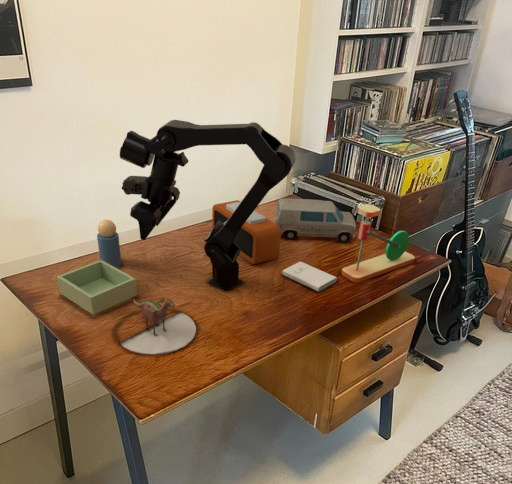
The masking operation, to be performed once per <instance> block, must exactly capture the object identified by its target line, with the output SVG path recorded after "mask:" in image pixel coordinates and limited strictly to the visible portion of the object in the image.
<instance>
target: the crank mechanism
mask: <svg viewBox="0 0 512 484" xmlns="http://www.w3.org/2000/svg"><path fill="white" fill-rule="evenodd" d="M356 212H357V214H358V215H360V216H362V217H364V218H365V219H364V220H361V221H360V223H359V228H358V233H357V239H359V240H360V246H359V251H358V252H359V253H358V257H357V262H356V263H353V264H350V265H348V266H345V267H343V268H342V269H341V274H340V275H341V276H343V277H344V278H346V279H347V280H349V281H351V282H353V283H361V282H364V281H367V280H370V279H372V278H375V277H378V276H381V275H383V274H386V273H389V272H391V271H395V270H397V269H400V268H404V267H405V266H408V265H411V264H414V263H415V259H416V257H415V256H414V255H413V254H411V253H409V252H407V249H408V245H409V241H410V236H409V233H408V232H407V231H405V230H398V231H397V232H396V233H394V234H393V235H392V236H391V238H389V239H388V238H386V237H384V236H381V235H379V234H378V233H375V232H373V231H371V226H372V223H371V221H369V220H368V219H369V218H374V217H378V216H379V215H380V214H381V213H380V212H381V208H380V207H379V206H376V205H374V204H362V205H359V206H357V211H356ZM369 236H371V237H374V238H376V239H377V240H380V241H381V242H384V243H387V245H386V247H385V253H383V254H380V255H378V256H374V257H371V258H369V259H366V260H363V261H361V257H362V251H363V246H364V241H368V240H369Z"/></svg>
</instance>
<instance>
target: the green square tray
mask: <svg viewBox="0 0 512 484" xmlns="http://www.w3.org/2000/svg"><path fill="white" fill-rule="evenodd" d="M56 279H57V285H58V290H59V293H60V294H61V295H62V296H64V297H65V298H67V299H69V300H70V301H71V302H73V303H75V304H76V305H78V306H79V307H81V308H82V309H83V310H85V311H87V312H89V313H90V314H91V315H96V314H98V313H100V312H103V311H105V310H108V309H110V308H111V307H114V306H116V305H118V304H120V303H123V302H125V301H127V300H130V299H131V298H132V299H133V298H134V297H136V296H137V295H138V291H137V281H136V279H137V278H135V277H133V276H131V275H129V274H128V273H126V272H124V271H123V270H121V269H119V268H118V267H113V266H112V265H110V264H108V263H106V262H104V261H102V260H100V259H99V260H97V261H94V262H91V263H89V264H86V265H84V266H81V267H78V268H75V269H72V270H71V271H68V272H65V273H63V274H59V275H57V276H56Z"/></svg>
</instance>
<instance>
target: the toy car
mask: <svg viewBox="0 0 512 484" xmlns="http://www.w3.org/2000/svg"><path fill="white" fill-rule="evenodd" d="M273 223H275V224H277V225H278V226H279V228H280V230H281V236H282V235H283V238H284V239H285V240H288V241H296V240H297V239H298V237H314V238H315V237H316V238H336V241H337V242H338V243H342V244H347V243H349V242H350V241H351V238H352V239H355V237H356V233H355V231H356V227H357V224H356V220H355V218H354V216H353V214H352V213H351V212H350V211H341V210H340V209H339V208H338V207H337V206H336V205H335V203H334V202H333V201H331V200H322V199H306V198H279V199H278V203H277V206H276V209H275V217H274V220H273Z"/></svg>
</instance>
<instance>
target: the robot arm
mask: <svg viewBox="0 0 512 484" xmlns="http://www.w3.org/2000/svg"><path fill="white" fill-rule="evenodd" d="M228 145H229V146H235V145H236V146H237V145H239V146H240V145H247V146H248V147H249V148H250V149H251V151H252V152H253V153H254V155H255V157H256V158H257V159H258V160H259V162H261V164H262V165H263V166H262V169H261V171H260V172H259V175H258V177H257V179H256V181H255V182H254V184H253V185H252V186H251V187H250V189H249V190H248V192H247V193H246V194H245V196H244V197H243V198H242V200H241V201H240V202H241V203H240V204H239V205H238V207H237V208H236V209H235V211H234V212H233V214H232V215H231V216H230V218H229V219H228V220H227V221H226V222H224V223H222V222H221V221H220V220H219V221H218V222H217V224H216V225H215V227H214V228H213V229H212V228H211V230H210V232H209V233H208V234H207V236H206V238H205V239H204V241H203V242H204V243H205V244H204V246H203V250H204V254H205V255H206V257H208V258H209V261H210V263H211V271H212V272H211V277H212V278H211V279H209V280H208V283H209V284H211V285H213V286H215V287H217V288H219V289H220V290H223V291H225V292H228V291H229V290H231V289H233V288H236V287H237V286H239V285H241V284H243V280H241V279H239V278H240V277H239V273H240V272H239V271H240V270H239V269H240V263H239V262H238V260H237V258H238V257H239V256H240V255H239V253H240V251H241V249H240V248H239V247H238V245H237V244H236V243H235V242H234V239H235V237H236V235H237V233H238V231H239V230H240V228H241V227H242V226H243V224H244V223H245V222H246V220H247V219H248V218H249V217H250V215H251V214H252V213H253V211H256V209H257V207H258V206H259V205H260V204H261V202H262V201H263V200H264V198H265V197H266V196H267V194H268V193H269V192H270V191H271V190H272V189H273V188H275V187H276V186H277V185H278V184H280V183H281V182H282V181H283V180H284V179H285V178H286V177H287V176H288V175H289V174H290V173H291V171H292V169H293V166H294V164H295V162H296V153H295V151H294V149H293V148H292V147H291V146H289V145H287V144H284V143H282V142H281V141H280V140H279V139H278V138H277V137H276V136H274V135H272V134H271V133H269V132H268V131H266V129H264V127H263V126H262V125H260V124H259V123H258V122H255V121H253V122H252V121H251V122H249V123H228V124H224V123H223V124H197V123H193V122H190V121H186V120H180V119H172V120H169V121H168V122H167V123H164V124H163V125H161V127H159V129H157V132H156V135H155V136H153V137H152V138H151V139H150V138H148V137H146V136H143V135H141V134H139V133H137V132H136V131H133V130H129V131H128V132H127V133H126V136H125V138H124V140H123V142H122V145H121V147H120V149H119V159H120V160H123V161H125V162H127V163H130V164H131V165H135V166H137V167H139V168H141V169H145V168H146V167H147V166H148V167H150V166H151V165H152V166H151V170H150V175H149V176H145V175H128V176H127V177H125V179H124V180H123V181H122V186H121V190H122V191H123V192H124V194H125V195H127V196H129V195H138V196H139V195H140V198H141V199H143V200H147V202H149V203H147V202H145V201H143V200H140V201H138V202H136V203H135V204H133V206H132V207H131V208H130V212H129V216H130V217H131V218H133V219H135V220H136V221H137V222H138V228H139V229H138V230H139V237H140V240H143V241H146V240H147V238H148V237H149V235H150V234H151V233H152V231H153V230H154V229H155V227H159V225H160V224H161V222H162V221H163V219H165V218H166V216H167V214H168V213H169V212H170V211H171V209H172V208H173V207H174V206H175V205H176V203H177V201H178V200H179V199H180V195H181V192H180V190H179V188H178V187H176V184H177V180H176V176H177V173H178V168H179V166H180V167H185V166H186V165H187V164H188V163H189V159H188V157H187V156H186V154H185V152H184V150H188V149H190V148H194V147H199V146H228ZM180 151H181V152H180ZM178 152H179V153H178Z"/></svg>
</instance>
